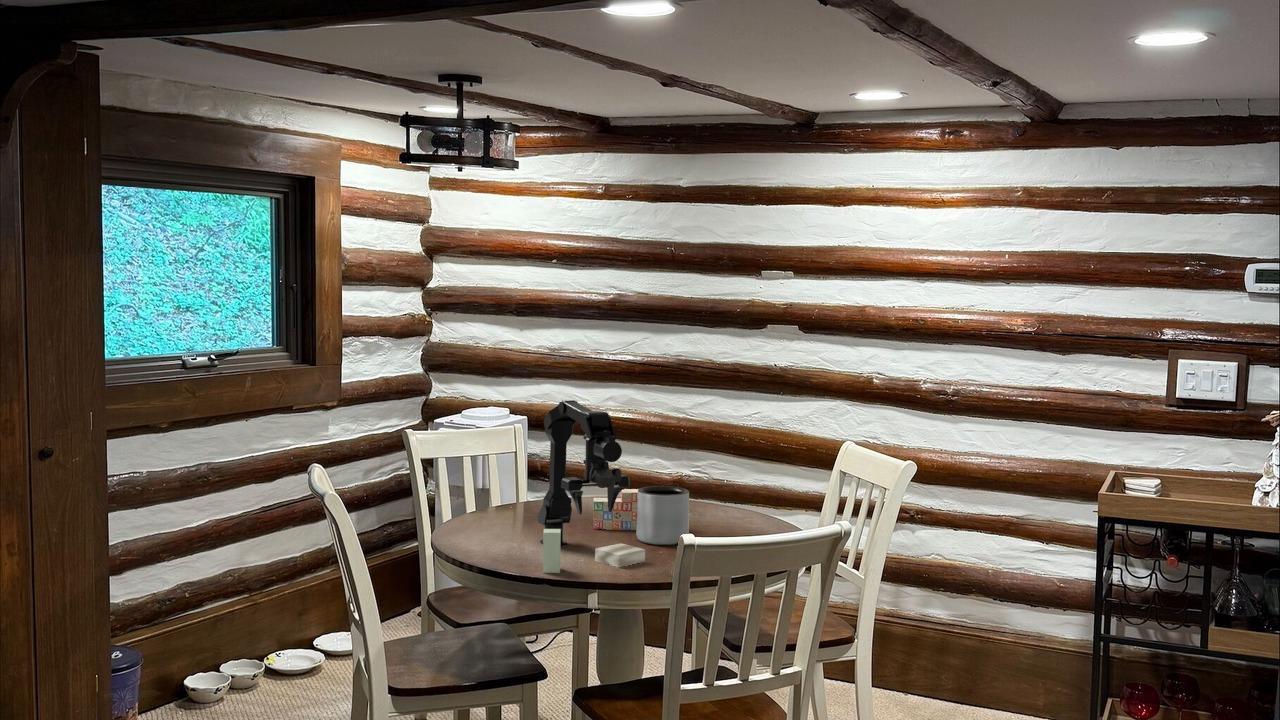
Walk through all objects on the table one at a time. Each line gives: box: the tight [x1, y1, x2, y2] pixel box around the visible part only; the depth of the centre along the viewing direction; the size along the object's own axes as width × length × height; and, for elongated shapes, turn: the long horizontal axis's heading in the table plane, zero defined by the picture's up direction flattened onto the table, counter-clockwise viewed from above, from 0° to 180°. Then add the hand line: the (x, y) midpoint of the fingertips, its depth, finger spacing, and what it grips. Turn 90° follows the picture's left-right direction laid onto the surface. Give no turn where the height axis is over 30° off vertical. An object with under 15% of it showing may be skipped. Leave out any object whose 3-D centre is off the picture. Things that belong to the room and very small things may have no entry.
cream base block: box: [594, 542, 646, 568], centre depth 315 cm, size 10×10×4 cm
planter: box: [635, 485, 690, 546], centre depth 342 cm, size 16×16×16 cm
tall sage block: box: [542, 528, 561, 574], centre depth 303 cm, size 5×5×11 cm
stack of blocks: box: [592, 488, 639, 531], centre depth 358 cm, size 21×6×12 cm, turn 92°
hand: (595, 512), depth 310 cm, fingers open, 9 cm apart
